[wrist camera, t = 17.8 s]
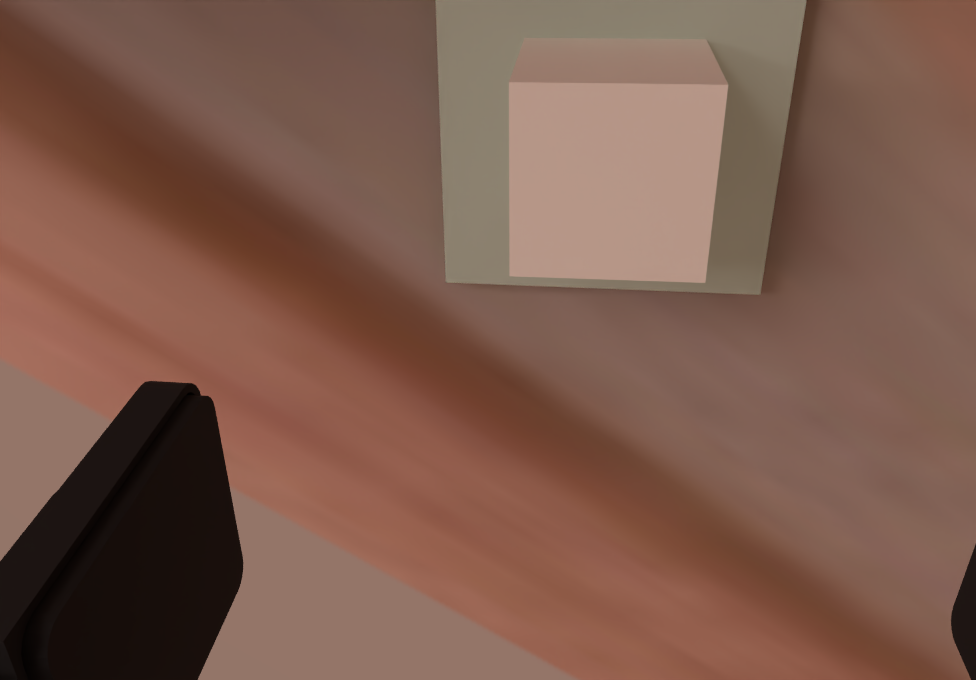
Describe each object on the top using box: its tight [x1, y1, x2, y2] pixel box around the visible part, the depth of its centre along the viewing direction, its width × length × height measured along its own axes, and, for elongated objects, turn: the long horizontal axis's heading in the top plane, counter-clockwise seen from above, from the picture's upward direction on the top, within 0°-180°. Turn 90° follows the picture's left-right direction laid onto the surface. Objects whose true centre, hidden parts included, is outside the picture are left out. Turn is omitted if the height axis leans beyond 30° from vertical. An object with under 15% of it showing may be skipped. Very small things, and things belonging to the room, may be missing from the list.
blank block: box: [509, 38, 728, 283], centre depth 24 cm, size 5×5×5 cm
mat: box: [435, 0, 806, 295], centre depth 27 cm, size 10×10×1 cm
